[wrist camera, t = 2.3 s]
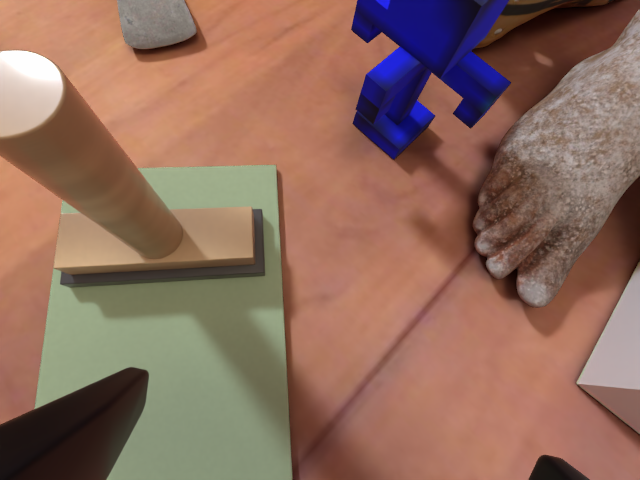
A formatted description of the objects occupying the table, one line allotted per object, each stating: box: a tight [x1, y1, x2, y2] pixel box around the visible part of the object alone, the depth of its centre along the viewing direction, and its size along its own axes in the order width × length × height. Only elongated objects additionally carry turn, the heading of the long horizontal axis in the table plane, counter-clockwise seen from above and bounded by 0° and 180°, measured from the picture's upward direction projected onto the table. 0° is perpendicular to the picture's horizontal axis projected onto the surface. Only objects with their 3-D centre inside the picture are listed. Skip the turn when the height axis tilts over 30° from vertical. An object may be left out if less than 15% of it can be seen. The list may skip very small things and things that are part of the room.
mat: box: [35, 165, 293, 480], centre depth 21 cm, size 20×13×1 cm, turn 5°
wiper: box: [0, 50, 265, 288], centre depth 15 cm, size 4×11×14 cm, turn 95°
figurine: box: [351, 0, 511, 159], centre depth 21 cm, size 8×8×12 cm
